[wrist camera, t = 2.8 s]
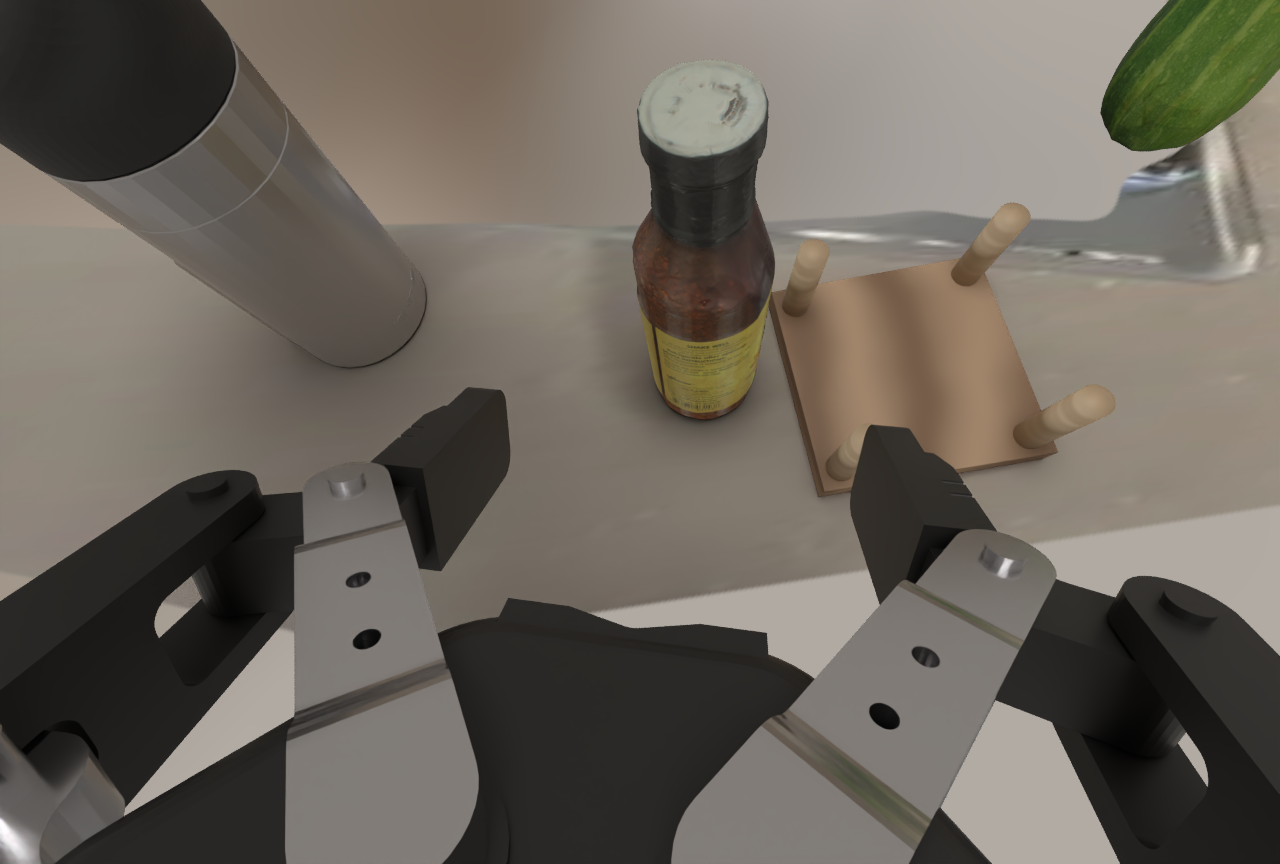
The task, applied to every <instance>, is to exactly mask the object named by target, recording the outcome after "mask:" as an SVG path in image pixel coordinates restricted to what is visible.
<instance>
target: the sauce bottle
mask: <svg viewBox="0 0 1280 864" xmlns="http://www.w3.org/2000/svg"><path fill="white" fill-rule="evenodd" d="M637 114H638V127H639V141H640V148H641V153H642V155H643V157H644V159H645V162H646V163H647V165H648V166H649V169H650V178H651V188H652V190H651V207H652V209H651V210H650V211H649V213H648V215H647V216H646V218H645V219H644V221H643V223H642V224H641V225H640V227H639V229H638V231H637V234H636V237H635V239H634V243H633V246H632V248H633V264H634V270H635V275H636V279H637V297H638V302H639V307H640V312H641V317H642V322H643V326H644V331H645V336H646V341H647V346H648V351H649V356H650V360H651V365H652V370H653V375H654V379H655V382H656V385H657V387H658V389H659V391H660V392H661V394H662V396H663V397H664V399H665V401H666V403H667V404H668V405H669V406H670V407H671V408H672V409H674V410H675V411H677V412H678V413H680V414H683V415H684V416H690V417H693V418H697V419H711V418H717V417H719V416H721V415H725V414H726V413H729V412H730V411H731V410H733V409H734V408H736V407H737V406H738V405H739V404H740V403H741V402H742V401H743V400H744V398H745V395H746V393H747V391H748V390H749V388H750V386H751V384H752V382H753V379H754V376H755V372H756V367H757V362H758V357H759V352H760V347H761V342H762V338H763V333H764V328H765V321H766V317H767V311H768V305H769V301H770V297H771V291H772V284H773V279H774V271H775V259H774V252H773V247H772V244H771V242H770V239H769V236H768V233H767V230H766V227H765V224H764V221H763V218H762V216H761V213H760V210H759V207H758V204H757V201H756V199H755V178H756V170H757V164H758V159H759V158H760V157H761V155H762V153H763V150H764V148H765V144H766V138H767V122H768V99H767V96H766V93H765V91H764V88H763V86H762V84H761V83H760V82H759V81H758V79H757V78H756V76H755V75H754V74H753V73H752V72H750V71H749V70H747V69H746V68H744V67H742V66H740V65H738V64H736V63H731V62H726V61H719V60H700V61H692V62H687V63H682V64H678V65H676V66H674V67H672V68H670V69H668V70H665V71H664V72H663V73H662V74H660V75H659V76H657V77H656V78H655V79H654V80H653V81H652V82H651V83H650V84H649V86H648V87H647V89H646V90H645V92H644V93H643V95H642V98H641V100H640V104H639V107H638V109H637Z"/></svg>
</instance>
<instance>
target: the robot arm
mask: <svg viewBox="0 0 1280 864" xmlns="http://www.w3.org/2000/svg"><path fill="white" fill-rule="evenodd" d="M0 143H1V144H2V145H4V146H5V147H7V148H8V149H10V150H11V151H13V152H14V153H16V154H17V155H19V156H20V157H21V158H23V159H24V160H26V161H27V162H29V163H30V164H32V165H33V166H35V167H36V168H38V169H39V170H41V171H43V172H44V173H46V174H47V175H48V176H50V177H51V178H53V179H54V180H56V181H57V182H59V183H60V184H62V185H63V186H65V187H66V188H68V189H69V190H71V191H72V192H73V193H75V194H76V195H78V196H79V197H81V198H82V199H84V200H85V201H87V202H88V203H90V204H91V205H93V206H94V207H96V208H97V209H99V210H100V211H102V212H103V213H105V214H106V215H107V216H109V217H110V218H112V219H113V220H115V221H116V222H118V223H120V224H121V225H123V226H124V227H126V228H127V229H129V230H130V231H132V232H133V233H135V234H136V235H138V236H139V237H140V238H142V239H143V240H145V241H146V242H148V243H149V244H151V245H152V246H154V247H155V248H157V249H158V250H160V251H161V252H163V253H164V254H166V255H167V256H168V257H170V258H171V259H173V260H174V262H175V264H177V265H178V266H179V267H180V268H182V269H183V270H185V271H186V272H188V273H189V274H191V275H192V276H194V277H195V278H197V279H198V280H200V281H201V282H203V283H204V284H205V285H207V286H208V287H210V288H211V289H213V290H214V291H216V292H217V293H219V294H220V295H222V296H223V297H225V298H226V299H228V300H229V301H231V302H232V303H234V304H235V305H237V306H238V307H240V308H241V309H243V310H244V311H246V312H247V313H249V314H250V315H252V316H253V317H255V318H256V319H258V320H259V321H261V322H262V323H263V324H265V325H266V326H268V327H269V328H271V329H272V330H274V331H275V332H277V333H278V334H280V335H281V336H283V337H284V338H286V339H287V340H289V341H290V342H293V343H296V344H298V345H299V346H301V347H302V348H304V349H305V350H307V351H308V352H310V353H311V354H313V355H314V356H316V357H317V358H319V359H321V360H322V361H324V362H326V363H329V364H332V365H335V366H340V367H359V366H365V365H369V364H372V363H375V362H378V361H380V360H382V359H384V358H386V357H388V356H390V355H391V354H393V353H394V352H395V351H397V350H398V349H399V348H401V347H402V346H403V345H404V344H405V343H406V342H407V341H408V340H409V338H410V337H411V336H412V335H413V333H414V332H415V330H416V329H417V327H418V325H419V324H420V321H421V319H422V316H423V313H424V309H425V303H426V293H425V286H424V283H423V280H422V277H421V276H420V274H419V273H418V271H417V270H416V268H415V267H414V266H413V264H412V263H411V262H410V261H409V259H408V258H407V257H406V256H405V254H404V253H403V252H402V251H401V249H400V248H399V247H398V246H397V244H396V243H395V242H394V241H393V239H392V238H391V237H390V235H389V234H388V233H387V231H386V230H385V229H384V228H383V226H382V225H381V224H380V223H379V222H378V220H377V219H376V218H375V217H374V215H373V214H372V213H371V211H370V210H369V209H368V208H367V206H366V205H365V204H364V203H363V201H362V200H361V199H360V198H359V196H358V195H357V194H356V193H355V191H354V190H353V189H352V188H351V186H350V185H349V184H348V183H347V181H346V180H345V179H344V178H343V176H342V175H341V174H340V173H339V171H338V170H337V169H336V168H335V166H334V165H333V164H332V163H331V161H330V160H329V159H328V158H327V156H326V155H325V154H324V153H323V152H322V150H321V149H320V148H319V147H318V145H317V144H316V143H315V141H314V140H313V139H312V138H311V136H310V135H309V134H308V133H307V131H306V130H305V129H304V128H303V127H302V125H301V124H300V123H299V122H298V120H297V119H296V118H295V116H294V115H293V114H292V113H291V112H290V110H289V109H288V108H287V106H286V105H285V104H284V103H283V101H282V100H281V99H280V98H279V97H278V96H277V94H276V93H275V92H274V91H273V89H272V88H271V87H270V86H269V84H268V83H267V82H266V81H265V80H264V78H263V77H262V76H261V74H260V73H259V72H258V71H257V69H256V68H255V67H254V66H253V64H252V63H251V62H250V61H249V59H248V58H247V57H246V56H245V54H244V53H243V52H242V51H241V49H240V48H239V47H238V46H237V44H236V43H235V42H234V41H233V40H232V38H231V37H230V36H229V35H228V33H227V32H226V31H225V29H224V28H223V27H222V25H221V24H220V23H219V22H218V21H217V19H216V18H215V17H214V16H213V14H212V13H211V12H210V11H209V10H208V8H207V7H206V6H205V5H204V3H203V2H202V1H201V0H0ZM509 463H510V442H509V431H508V420H507V409H506V400H505V396H504V393H503V392H502V391H501V390H494V389H483V388H472V387H468V388H466V389H465V390H464V391H463V392H462V393H461V394H460V395H459V396H458V397H456V398H455V399H454V400H453V401H452V402H451V403H450V404H449V405H448V406H442V407H440V408H438V409H436V410H433V411H431V412H429V413H427V414H425V415H423V416H422V417H421V418H420V419H419V420H418V421H416V422H415V423H414V424H413V425H412V427H411V428H409V429H407V430H406V431H405V432H404V433H403V434H402V435H401V438H399V437H398V438H397V439H396V440H395V441H394V442H393V443H391V444H390V445H389V446H388V447H387V448H386V449H385V450H384V451H382V452H381V453H380V454H379V455H378V456H377V457H376V458H374V459H373V460H372V461H371V462H353V463H346V464H341V465H337V466H334V467H331V468H328V469H326V470H324V471H322V472H320V473H318V474H316V475H315V476H313V477H312V478H311V479H309V480H308V481H307V483H306V484H305V485H304V487H303V492H297V493H284V494H272V495H262V493H261V490H260V488H259V485H258V482H257V479H256V477H255V476H254V475H253V474H251V473H249V472H246V471H240V470H225V471H217V472H212V473H207V474H203V475H200V476H197V477H194V478H191V479H188V480H186V481H184V482H182V483H179V484H177V485H176V486H174V487H172V488H171V489H169V490H168V491H166V492H165V493H163V494H162V495H160V496H159V497H157V498H155V499H154V500H152V501H151V502H149V503H148V504H146V505H145V506H143V507H142V508H140V509H139V510H137V511H136V512H134V513H133V514H131V515H130V516H128V517H127V518H125V519H124V520H122V521H121V522H119V523H118V524H116V525H115V526H113V527H112V528H110V529H109V530H107V531H106V532H104V533H103V534H101V535H100V536H98V537H97V538H95V539H94V540H92V541H91V542H89V543H88V544H86V545H85V546H83V547H81V548H80V549H78V550H77V551H75V552H74V553H72V554H71V555H69V556H68V557H66V558H65V559H63V560H62V561H60V562H59V563H57V564H56V565H54V566H53V567H51V568H50V569H48V570H47V571H45V572H44V573H42V574H41V575H39V576H38V577H36V578H35V579H33V580H32V581H30V582H29V583H27V584H26V585H24V586H23V587H21V588H20V589H18V590H17V591H15V592H14V593H12V594H11V595H9V596H7V597H6V598H4V599H3V600H2V601H0V864H992V863H991V862H990V861H989V860H988V859H987V858H986V857H985V856H984V855H983V853H982V852H981V851H980V850H979V849H978V848H977V847H976V846H975V845H974V844H973V843H972V842H971V841H970V839H969V838H968V837H967V836H966V835H965V834H964V833H963V832H962V831H961V830H960V829H959V828H958V827H957V825H956V824H955V823H954V822H953V821H952V820H951V819H950V818H949V817H948V816H947V815H946V814H945V812H944V811H943V810H942V809H941V806H942V804H943V802H944V800H945V798H946V796H947V794H948V792H949V790H950V788H951V786H952V784H953V782H954V780H955V778H956V776H957V774H958V772H959V770H960V768H961V767H962V765H963V762H964V760H965V759H966V757H967V755H968V753H969V751H970V749H971V747H972V745H973V743H974V741H975V739H976V737H977V735H978V733H979V731H980V729H981V727H982V725H983V723H984V721H985V719H986V717H987V716H988V714H989V712H990V710H991V708H992V706H993V704H994V702H995V700H996V701H999V702H1002V703H1004V704H1007V705H1010V706H1012V707H1014V708H1017V709H1020V710H1022V711H1025V712H1028V713H1030V714H1033V715H1035V716H1038V717H1040V718H1043V719H1046V720H1048V721H1051V722H1052V723H1053V725H1054V728H1055V730H1056V732H1057V734H1058V736H1059V738H1060V740H1061V742H1062V744H1063V747H1064V749H1065V751H1066V753H1067V755H1068V757H1069V759H1070V761H1071V763H1072V765H1073V767H1074V769H1075V771H1076V773H1077V776H1078V778H1079V780H1080V782H1081V784H1082V786H1083V788H1084V790H1085V792H1086V794H1087V796H1088V798H1089V800H1090V802H1091V804H1092V806H1093V809H1094V811H1095V813H1096V815H1097V817H1098V819H1099V821H1100V823H1101V825H1102V827H1103V829H1104V831H1105V833H1106V835H1107V837H1108V839H1109V842H1110V843H1111V846H1112V848H1113V850H1114V852H1115V854H1116V856H1117V858H1118V860H1119V862H1120V864H1280V656H1279V655H1278V654H1277V653H1276V652H1275V651H1274V650H1273V649H1272V648H1271V647H1270V646H1269V645H1268V644H1267V643H1266V642H1265V641H1264V640H1263V639H1262V638H1261V637H1260V636H1259V635H1258V634H1257V633H1256V632H1255V631H1254V630H1253V629H1252V628H1251V627H1250V626H1249V625H1248V624H1247V623H1246V622H1245V621H1244V620H1243V619H1242V618H1241V617H1240V616H1239V615H1238V614H1237V613H1236V612H1234V611H1233V610H1232V609H1230V608H1229V607H1227V606H1226V605H1224V604H1223V603H1221V602H1220V601H1218V600H1216V599H1215V598H1213V597H1211V596H1209V595H1207V594H1205V593H1203V592H1201V591H1199V590H1197V589H1194V588H1192V587H1190V586H1187V585H1184V584H1181V583H1179V582H1176V581H1172V580H1168V579H1164V578H1159V577H1152V576H1137V577H1132V578H1130V579H1128V580H1127V581H1125V582H1124V584H1123V586H1122V588H1121V589H1120V591H1119V593H1118V594H1117V596H1116V598H1115V597H1111V596H1108V595H1105V594H1102V593H1098V592H1095V591H1092V590H1088V589H1085V588H1082V587H1078V586H1075V585H1072V584H1068V583H1066V582H1062V581H1059V580H1057V579H1056V570H1055V568H1054V566H1053V564H1052V563H1051V561H1049V559H1048V558H1047V557H1046V556H1045V555H1044V554H1042V553H1041V552H1040V551H1039V550H1037V549H1036V548H1034V547H1033V546H1031V545H1029V544H1028V543H1026V542H1024V541H1022V540H1020V539H1018V538H1015V537H1013V536H1010V535H1007V534H1004V533H1000V532H997V531H996V529H995V528H994V526H993V525H992V523H991V522H990V520H989V519H988V517H987V516H986V514H985V513H984V511H983V510H982V509H981V507H980V506H979V504H978V503H977V501H976V500H975V498H972V494H971V492H970V491H969V489H968V488H967V487H966V485H963V481H962V479H961V478H960V476H959V475H958V473H957V472H956V470H955V469H954V467H952V466H951V465H950V464H948V463H947V462H945V461H944V460H943V459H941V458H940V457H939V456H937V455H936V454H934V453H928V452H924V450H923V449H922V447H921V446H920V444H919V442H918V441H917V439H916V438H915V436H914V434H913V433H912V431H911V430H910V429H909V428H905V427H894V426H883V425H870V426H869V427H868V429H867V431H866V433H865V437H864V441H863V445H862V449H861V453H860V457H859V461H858V465H857V469H856V473H855V477H854V481H853V485H852V489H851V497H850V510H851V516H852V519H853V523H854V526H855V529H856V532H857V535H858V538H859V541H860V544H861V548H862V551H863V554H864V557H865V560H866V563H867V566H868V570H869V573H870V576H871V579H872V582H873V585H874V588H875V591H876V595H877V597H878V601H879V604H880V606H879V607H878V608H877V609H876V610H875V611H874V613H873V614H872V615H871V616H870V617H869V618H868V619H867V621H866V622H865V623H864V624H863V625H862V626H861V628H859V630H858V631H857V632H856V633H855V634H854V635H853V636H852V638H851V639H850V640H849V641H848V642H847V643H846V644H845V646H844V647H843V648H842V649H841V650H840V651H839V652H838V653H837V655H836V656H835V657H834V658H833V659H832V660H831V661H830V663H829V664H828V665H827V666H826V667H825V668H824V669H823V671H822V672H821V673H820V674H819V675H818V676H817V678H816V679H814V678H813V677H811V676H810V675H809V674H807V673H805V672H804V671H802V670H800V669H798V668H797V667H795V666H794V665H792V664H789V663H787V662H785V661H783V660H781V659H779V658H776V657H774V656H771V655H768V645H767V633H762V632H755V631H748V630H741V629H733V628H726V627H718V626H710V625H704V624H694V625H680V626H665V627H650V628H629V627H625V626H622V625H619V624H617V623H614V622H611V621H608V620H606V619H602V618H600V617H597V616H595V615H592V614H589V613H586V612H584V611H581V610H578V609H575V608H573V607H570V606H563V605H556V604H549V603H541V602H534V601H526V600H519V599H512V598H508V600H507V602H506V604H505V606H504V608H503V610H502V612H501V614H500V616H499V617H496V618H488V619H482V620H476V621H472V622H468V623H465V624H461V625H458V626H455V627H452V628H450V629H447V630H444V631H442V632H440V633H438V634H437V631H436V627H435V624H434V620H433V617H432V613H431V610H430V606H429V603H428V599H427V596H426V592H425V589H424V585H423V582H422V578H421V575H420V571H419V568H420V569H428V570H435V571H441V570H442V569H443V567H444V566H445V565H446V563H447V562H448V560H449V559H450V557H451V556H452V554H453V553H454V551H455V550H456V548H457V547H458V545H459V544H460V543H461V541H462V540H463V538H464V537H465V535H466V534H467V532H468V531H469V529H470V528H471V526H472V525H473V523H474V522H475V520H476V519H477V518H478V516H479V515H480V513H481V512H482V510H483V509H484V507H485V506H486V504H487V503H488V501H489V500H490V498H491V497H492V496H493V494H494V493H495V491H496V490H497V488H498V487H499V485H500V484H501V482H502V481H503V479H504V478H505V476H506V474H507V471H508V468H509ZM191 576H192V577H193V580H194V582H195V584H196V586H197V588H198V591H199V593H200V595H201V597H202V599H201V600H200V601H199V602H198V603H197V604H196V605H195V606H193V607H192V608H191V609H190V610H189V611H188V612H187V613H186V614H185V615H184V616H183V617H182V618H181V619H179V620H178V621H177V622H176V623H175V624H174V625H173V626H172V627H171V628H170V629H169V630H168V631H166V632H165V633H164V634H163V635H162V636H161V637H160V638H158V636H157V634H156V631H155V627H154V621H155V616H156V613H157V610H158V608H159V607H160V605H161V603H162V602H163V601H164V600H165V598H166V597H167V596H169V595H170V594H171V593H172V592H173V591H174V590H175V589H177V588H178V587H179V586H180V585H181V584H182V583H184V582H185V581H186V580H187V579H188V578H189V577H191ZM293 610H294V635H295V715H294V717H293V718H291V719H289V720H288V721H286V722H284V723H282V724H281V725H279V726H277V727H276V728H274V729H272V730H270V731H269V732H267V733H265V734H264V735H262V736H260V737H259V738H257V739H255V740H253V741H252V742H250V743H248V744H247V745H245V746H243V747H242V748H240V749H238V750H236V751H235V752H233V753H231V754H229V755H228V756H226V757H224V758H223V759H221V760H219V761H217V762H216V763H214V764H213V765H211V766H209V767H207V768H206V769H204V770H202V771H200V772H199V773H197V774H195V775H194V776H192V777H190V778H188V779H187V780H185V781H184V782H182V783H180V784H178V785H177V786H175V787H173V788H172V789H170V790H168V791H166V792H165V793H163V794H161V795H159V796H158V797H156V798H155V799H153V800H151V801H149V802H148V803H146V804H144V805H143V806H141V807H139V808H137V809H136V810H134V811H132V812H131V813H129V814H127V815H125V816H124V812H125V807H126V806H127V805H128V804H129V803H130V802H131V800H132V799H133V798H134V797H135V796H136V795H137V793H138V792H139V791H140V790H141V789H142V787H143V786H144V785H145V784H146V783H147V782H148V780H149V779H150V778H151V777H152V776H153V775H154V774H155V772H156V771H157V770H158V769H159V768H160V766H161V765H162V764H163V763H164V762H165V761H166V759H167V758H168V757H169V756H170V755H171V754H172V752H173V751H174V750H175V749H176V747H178V745H179V744H180V743H181V742H182V741H183V740H184V738H185V737H186V736H187V735H188V734H189V733H190V731H191V730H192V729H193V728H194V727H195V726H196V724H197V723H198V722H199V721H200V720H201V719H202V717H203V716H204V715H205V714H206V713H207V711H208V710H209V709H210V708H211V707H212V706H213V704H214V703H215V702H216V701H217V700H218V699H219V697H220V696H221V695H222V694H223V693H224V692H225V690H226V689H227V688H228V687H229V686H230V685H231V683H232V682H233V681H234V680H235V678H237V676H238V675H239V674H240V673H241V672H242V671H243V669H244V668H245V667H246V666H247V665H248V663H249V662H250V661H251V660H252V659H253V658H254V656H255V655H256V654H257V653H258V652H259V651H260V649H261V648H262V647H263V646H264V645H265V643H266V642H267V641H268V640H269V639H270V638H271V637H272V635H273V634H274V633H275V632H276V631H277V630H278V628H279V627H280V626H281V625H282V624H283V623H284V621H285V620H286V619H287V618H288V617H289V615H290V614H291V613H292V612H293ZM1186 732H1187V734H1188V735H1189V736H1190V738H1191V739H1192V741H1193V742H1194V744H1195V745H1196V746H1197V748H1198V750H1199V751H1200V753H1201V755H1202V757H1203V759H1204V761H1205V764H1206V767H1207V772H1208V787H1207V786H1206V784H1205V783H1204V781H1203V780H1202V778H1201V777H1200V775H1199V774H1198V772H1197V771H1196V769H1195V768H1194V766H1193V765H1192V763H1191V762H1190V761H1189V759H1188V758H1187V756H1186V755H1185V753H1184V752H1183V751H1182V749H1181V747H1180V746H1179V744H1178V742H1179V741H1180V739H1181V738H1182V737H1183V736H1184V734H1185V733H1186Z"/></svg>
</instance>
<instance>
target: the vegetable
mask: <svg viewBox="0 0 1280 864" xmlns="http://www.w3.org/2000/svg"><path fill="white" fill-rule="evenodd" d="M1279 69H1280V0H1169V1H1168V2H1167V3H1166V4H1165V6H1164V7H1163V8H1162V9H1161V10H1160V11H1159V12H1158V13H1157V14H1156V16H1155V17H1154V18H1153V19H1152V20H1151V21H1150V23H1149V24H1148V25H1147V26H1146V28H1145V29H1144V30H1143V32H1142V33H1141V34H1140V35H1139V37H1138V38H1137V39H1136V40H1135V42H1134V43H1133V45H1132V46H1131V48H1130V49H1129V50H1128V52H1127V53H1126V55H1125V56H1124V58H1123V59H1122V61H1121V62H1120V64H1119V66H1118V68H1117V69H1116V71H1115V73H1114V75H1113V77H1112V80H1111V81H1110V83H1109V86H1108V88H1107V90H1106V93H1105V95H1104V98H1103V102H1102V108H1101V115H1102V118H1103V121H1104V125H1105V127H1106V128H1107V130H1108V132H1109V134H1110V137H1111V139H1112V140H1114V141H1116V142H1118V143H1120V144H1121V145H1123V146H1125V147H1127V148H1128V149H1130V150H1132V151H1154V150H1160V149H1168V148H1177V147H1181V146H1183V145H1186V144H1188V143H1190V142H1192V141H1194V140H1196V139H1198V138H1199V137H1201V136H1203V135H1204V134H1206V133H1208V132H1209V131H1211V130H1212V129H1213V128H1215V127H1216V126H1217V125H1219V124H1220V123H1221V122H1223V121H1224V120H1226V119H1227V118H1229V117H1230V116H1231V115H1233V114H1234V113H1236V112H1237V111H1239V110H1240V109H1241V108H1242V107H1244V106H1245V105H1246V104H1247V103H1248V102H1249V101H1250V100H1251V99H1252V98H1253V97H1254V96H1255V95H1256V94H1257V93H1258V92H1259V91H1260V90H1261V89H1262V88H1263V87H1264V86H1265V85H1266V84H1267V82H1268V81H1269V80H1270V79H1271V78H1272V77H1273V76H1274V75H1275V73H1276V72H1277V71H1278V70H1279Z"/></svg>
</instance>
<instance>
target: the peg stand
mask: <svg viewBox="0 0 1280 864" xmlns="http://www.w3.org/2000/svg"><path fill="white" fill-rule="evenodd" d="M1029 221H1030V213H1029V211H1028V209H1027V208H1025V207H1024V206H1023V205H1021V204H1018V203H1007V204H1004V205H1003V206H1001V208H1000V209H999V210H998V211H997V213H996V214H995V215H994V216H993V218H992V219H991V220H990V222H989V223H988V224H987V225H986V227H985V228H984V229H983V231H982V232H981V233H980V234H979V236H978V237H977V238H976V240H975V241H974V242H973V243H972V245H971V246H970V247H969V249H968V250H967V251H966V252H965V254H964V255H963V256H962V257H961V258H960V259H954V260H949V261H943V262H938V263H932V264H927V265H921V266H916V267H910V268H905V269H899V270H893V271H888V272H882V273H877V274H871V275H866V276H860V277H855V278H849V279H844V280H838V281H832V282H827V283H821V284H818V282H819V279H820V277H821V274H822V272H823V269H824V267H825V264H826V262H827V259H828V257H829V253H830V252H829V248H828V246H827V245H826V244H825V243H824V242H823V241H821V240H818V239H810V240H806V241H805V242H803V243H802V244H801V246H800V248H799V251H798V254H797V257H796V260H795V264H794V267H793V270H792V273H791V276H790V280H789V283H788V286H787V289H786V290H782V291H777V292H772V293H771V297H770V301H769V309H770V312H771V316H772V320H773V324H774V328H775V332H776V335H777V339H778V343H779V347H780V351H781V355H782V358H783V362H784V366H785V370H786V374H787V378H788V381H789V385H790V389H791V393H792V397H793V401H794V404H795V408H796V412H797V416H798V420H799V424H800V428H801V431H802V435H803V439H804V443H805V447H806V451H807V454H808V458H809V462H810V466H811V470H812V474H813V477H814V481H815V485H816V489H817V493H818V497H819V496H825V495H831V494H837V493H843V492H849V491H851V489H852V485H853V481H854V477H855V473H856V469H857V465H858V461H859V457H860V453H861V449H862V445H863V441H864V437H865V433H866V431H867V429H868V427H869V426H870V425H883V426H894V427H905V428H909V429H910V430H911V431H912V433H913V434H914V436H915V438H916V439H917V441H918V442H919V444H920V446H921V447H922V449H923V450H924V452H928V453H934V454H936V455H937V456H939V457H940V458H941V459H943V460H944V461H945V462H947V463H948V464H950V465H951V466H952V467H954V469H955V470H956V472H957V473H962V472H968V471H974V470H980V469H986V468H991V467H997V466H1003V465H1009V464H1015V463H1021V462H1027V461H1033V460H1039V459H1043V458H1045V457H1048V456H1050V455H1052V454H1055V453H1057V452H1058V451H1057V448H1056V446H1055V443H1054V441H1053V440H1055V439H1057V438H1060V437H1062V436H1064V435H1066V434H1068V433H1070V432H1073V431H1075V430H1077V429H1079V428H1081V427H1083V426H1086V425H1088V424H1090V423H1092V422H1094V421H1096V420H1099V419H1101V418H1103V417H1105V416H1107V415H1109V414H1111V413H1112V412H1113V411H1114V409H1115V406H1116V401H1115V398H1114V396H1113V394H1112V393H1111V392H1110V391H1109V390H1108V389H1106V388H1105V387H1102V386H1100V385H1087V386H1085V387H1083V388H1081V389H1080V390H1078V391H1076V392H1074V393H1073V394H1071V395H1069V396H1067V397H1065V398H1064V399H1062V400H1060V401H1058V402H1056V403H1055V404H1053V405H1051V406H1049V407H1048V408H1046V409H1044V410H1042V411H1041V409H1040V407H1039V404H1038V402H1037V399H1036V397H1035V395H1034V392H1033V390H1032V387H1031V385H1030V382H1029V380H1028V377H1027V375H1026V373H1025V370H1024V368H1023V365H1022V363H1021V360H1020V358H1019V355H1018V353H1017V351H1016V348H1015V346H1014V343H1013V341H1012V338H1011V336H1010V334H1009V331H1008V329H1007V326H1006V324H1005V321H1004V319H1003V316H1002V314H1001V312H1000V309H999V307H998V304H997V302H996V299H995V297H994V295H993V292H992V290H991V287H990V285H989V282H988V280H987V277H986V275H985V272H986V271H987V269H988V268H989V267H990V266H991V265H992V264H993V263H994V261H995V260H996V259H997V258H998V257H999V256H1000V255H1001V254H1002V252H1003V251H1004V250H1005V249H1006V248H1007V247H1008V246H1009V244H1010V243H1011V242H1012V241H1013V240H1014V239H1015V238H1016V237H1017V235H1018V234H1019V233H1020V232H1021V231H1022V230H1023V229H1024V227H1025V226H1026V225H1027V224H1028V223H1029Z"/></svg>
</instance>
